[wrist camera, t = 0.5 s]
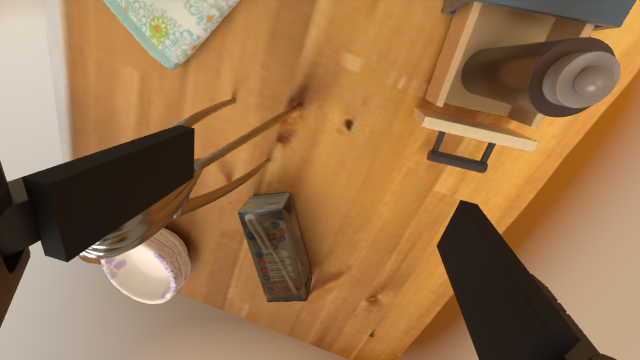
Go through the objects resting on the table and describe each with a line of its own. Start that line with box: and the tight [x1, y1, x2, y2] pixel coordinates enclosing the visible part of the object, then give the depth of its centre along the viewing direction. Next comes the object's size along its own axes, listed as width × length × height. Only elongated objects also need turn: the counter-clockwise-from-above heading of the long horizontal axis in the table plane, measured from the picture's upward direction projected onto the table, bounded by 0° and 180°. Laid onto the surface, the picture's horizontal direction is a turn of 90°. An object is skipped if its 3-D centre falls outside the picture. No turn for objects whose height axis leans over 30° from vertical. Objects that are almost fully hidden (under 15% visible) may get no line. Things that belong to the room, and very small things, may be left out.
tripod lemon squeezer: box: [78, 99, 303, 259], centre depth 27 cm, size 10×11×30 cm
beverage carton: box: [238, 192, 312, 302], centre depth 46 cm, size 8×19×7 cm, turn 11°
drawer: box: [413, 1, 595, 173], centre depth 30 cm, size 20×12×7 cm, turn 169°
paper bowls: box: [101, 228, 191, 304], centre depth 52 cm, size 15×15×8 cm
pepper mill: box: [461, 37, 620, 117], centre depth 24 cm, size 5×5×18 cm
